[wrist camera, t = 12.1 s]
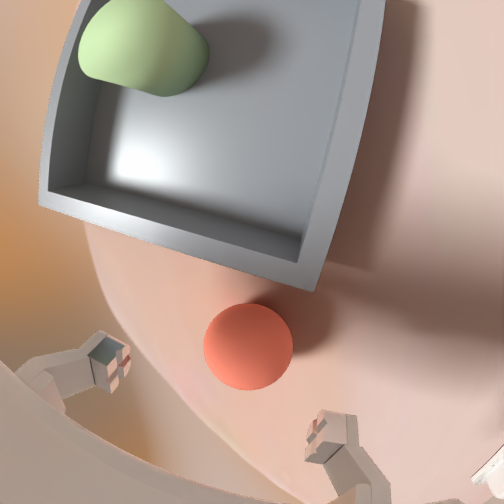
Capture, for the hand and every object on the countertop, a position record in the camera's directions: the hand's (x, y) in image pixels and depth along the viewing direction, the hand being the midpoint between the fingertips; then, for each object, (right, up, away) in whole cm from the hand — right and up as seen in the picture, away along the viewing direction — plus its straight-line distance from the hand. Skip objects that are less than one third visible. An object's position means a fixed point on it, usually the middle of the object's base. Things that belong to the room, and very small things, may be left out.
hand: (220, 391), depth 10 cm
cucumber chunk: (-3, +16, +2) cm, 16 cm away
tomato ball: (+2, +1, +7) cm, 7 cm away
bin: (-1, +15, +3) cm, 15 cm away
